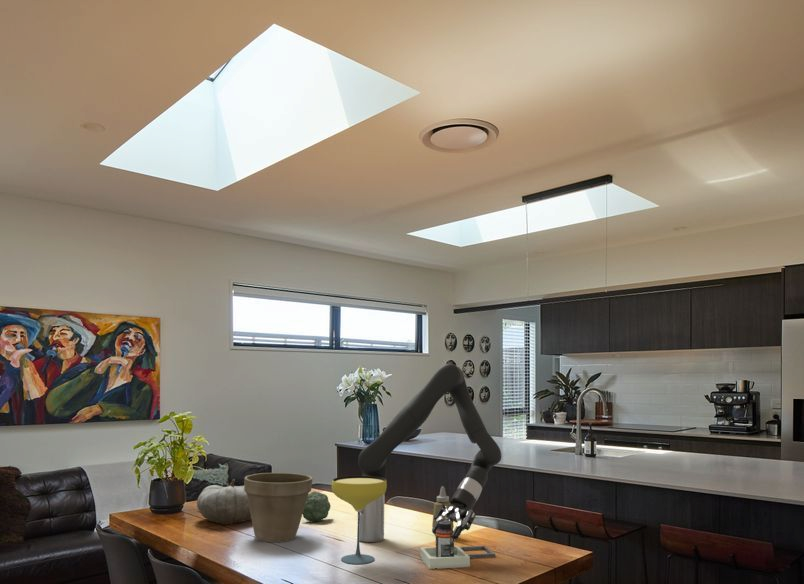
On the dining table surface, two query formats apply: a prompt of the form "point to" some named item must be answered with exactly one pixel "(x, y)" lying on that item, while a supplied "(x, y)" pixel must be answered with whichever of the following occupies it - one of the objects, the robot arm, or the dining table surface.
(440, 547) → the supplement bottle
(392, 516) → the dining table surface
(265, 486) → the plant pot
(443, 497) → the squeeze bottle
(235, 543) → the dining table surface
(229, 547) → the dining table surface
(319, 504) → the vegetable
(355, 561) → the cocktail glass
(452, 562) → the dish
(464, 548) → the socket collar
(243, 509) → the gourd
